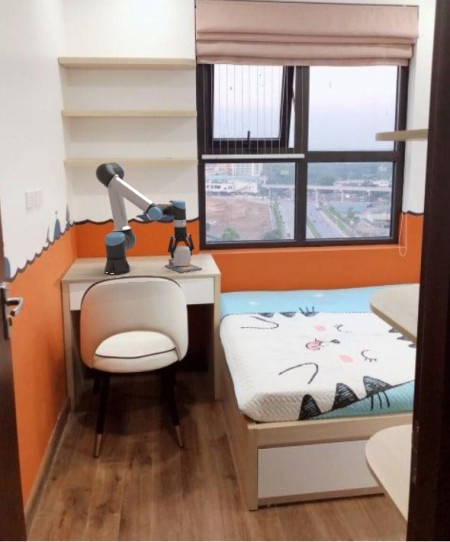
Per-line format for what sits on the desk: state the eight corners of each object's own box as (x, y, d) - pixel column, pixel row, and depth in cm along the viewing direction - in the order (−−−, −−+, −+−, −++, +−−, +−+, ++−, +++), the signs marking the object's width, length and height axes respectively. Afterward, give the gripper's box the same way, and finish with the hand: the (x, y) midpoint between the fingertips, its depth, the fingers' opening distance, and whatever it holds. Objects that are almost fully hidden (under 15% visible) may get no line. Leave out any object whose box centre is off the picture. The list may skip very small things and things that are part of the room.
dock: (181, 273, 309) (180, 265, 308) (165, 266, 327) (164, 259, 326) (201, 269, 316) (201, 262, 315) (184, 263, 334) (184, 256, 333)
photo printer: (190, 264, 325) (189, 244, 322) (190, 266, 321) (189, 246, 318) (173, 265, 323) (172, 245, 320) (173, 266, 319) (172, 247, 316)
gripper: (166, 229, 307) (167, 265, 313) (199, 225, 319) (200, 260, 324) (160, 227, 314) (162, 263, 319) (193, 223, 325) (194, 258, 330)
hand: (181, 262), depth 322 cm, fingers closed on photo printer, 10 cm apart
